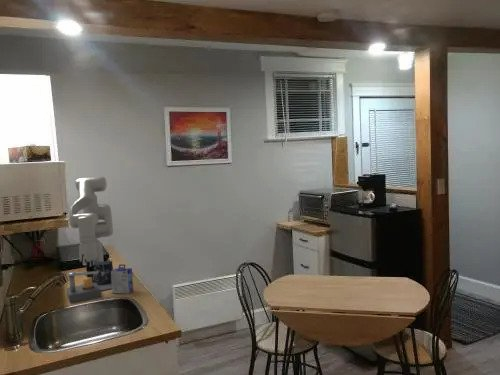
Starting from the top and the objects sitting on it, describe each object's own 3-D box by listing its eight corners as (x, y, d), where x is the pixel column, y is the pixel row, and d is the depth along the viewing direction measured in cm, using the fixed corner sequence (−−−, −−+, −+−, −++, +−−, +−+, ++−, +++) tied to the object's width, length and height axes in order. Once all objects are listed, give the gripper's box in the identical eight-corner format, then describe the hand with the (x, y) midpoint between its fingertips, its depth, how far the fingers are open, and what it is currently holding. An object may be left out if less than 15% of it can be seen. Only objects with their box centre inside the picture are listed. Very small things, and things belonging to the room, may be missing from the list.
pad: (96, 287, 246) (96, 286, 246) (113, 284, 250) (113, 283, 250) (99, 291, 238) (99, 290, 238) (116, 288, 242) (116, 287, 242)
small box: (87, 285, 250) (85, 265, 249) (91, 282, 257) (89, 261, 256) (110, 284, 250) (108, 263, 249) (114, 280, 257) (112, 260, 256)
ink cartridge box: (134, 290, 237) (132, 263, 236) (129, 293, 232) (127, 266, 231) (117, 290, 239) (115, 263, 238) (112, 293, 234) (109, 266, 233)
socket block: (67, 295, 235) (65, 274, 234) (96, 289, 242) (94, 269, 241) (70, 303, 223) (67, 280, 222) (101, 296, 229) (99, 275, 228)
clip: (66, 277, 227) (66, 272, 226) (68, 275, 230) (68, 270, 230) (97, 274, 229) (96, 269, 229) (98, 272, 233) (98, 267, 232)
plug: (83, 294, 234) (81, 278, 234) (93, 292, 237) (91, 276, 236) (84, 297, 230) (82, 280, 229) (94, 295, 232) (93, 278, 231)
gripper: (89, 236, 239) (92, 269, 241) (72, 242, 224) (75, 277, 226) (101, 236, 237) (104, 269, 239) (85, 242, 223) (89, 278, 225)
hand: (90, 273), depth 233 cm, fingers closed
